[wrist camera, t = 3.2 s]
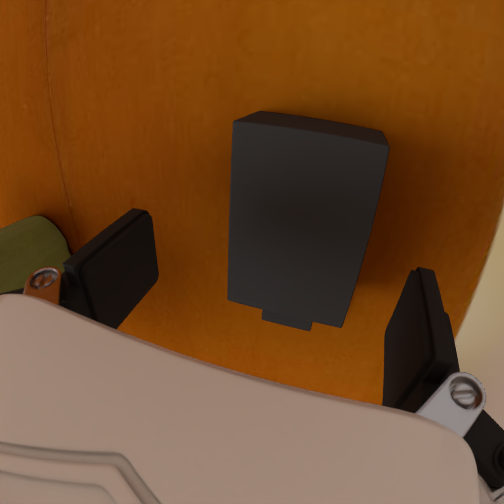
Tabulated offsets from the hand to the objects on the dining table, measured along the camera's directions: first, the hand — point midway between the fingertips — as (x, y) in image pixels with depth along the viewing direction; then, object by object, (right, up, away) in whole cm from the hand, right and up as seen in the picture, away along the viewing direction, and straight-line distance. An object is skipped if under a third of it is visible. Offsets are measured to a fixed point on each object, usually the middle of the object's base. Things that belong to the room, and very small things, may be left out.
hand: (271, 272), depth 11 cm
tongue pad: (+2, +2, +6) cm, 7 cm away
